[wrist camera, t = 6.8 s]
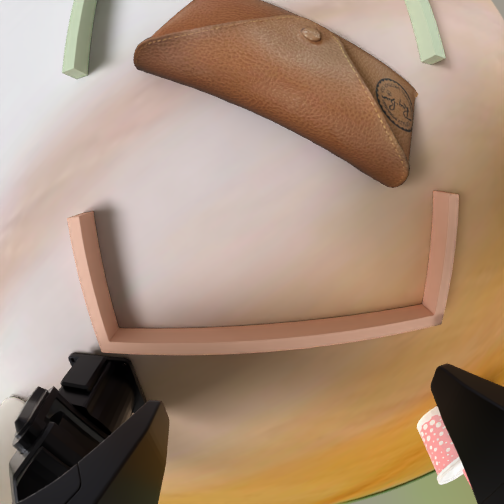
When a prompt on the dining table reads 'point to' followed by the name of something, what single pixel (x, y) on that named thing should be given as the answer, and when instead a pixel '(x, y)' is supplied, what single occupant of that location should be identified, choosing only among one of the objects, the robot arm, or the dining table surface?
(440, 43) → the mint green arch
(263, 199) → the dining table surface
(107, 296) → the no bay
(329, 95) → the sunglasses case
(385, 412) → the dining table surface
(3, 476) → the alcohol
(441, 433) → the beverage cup
